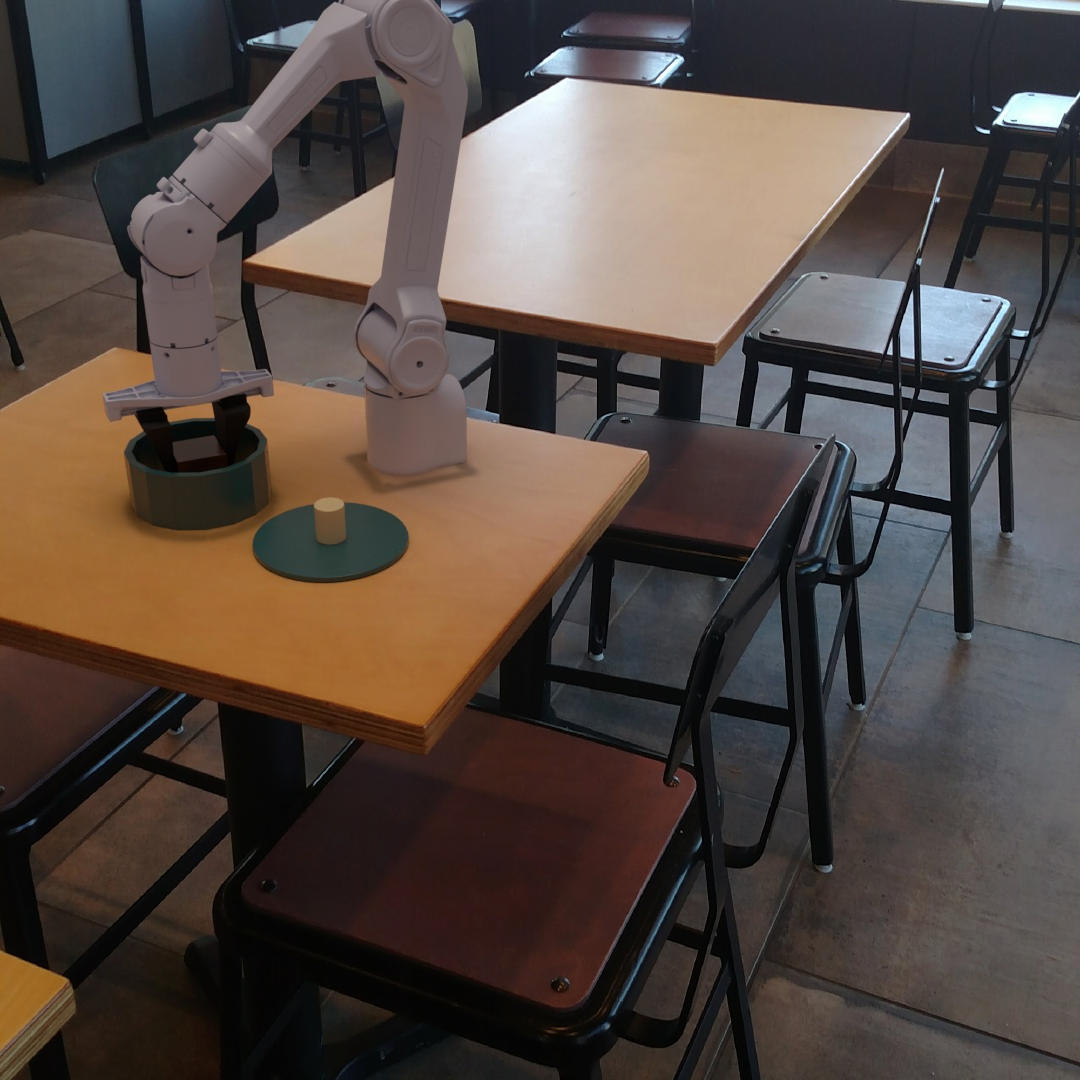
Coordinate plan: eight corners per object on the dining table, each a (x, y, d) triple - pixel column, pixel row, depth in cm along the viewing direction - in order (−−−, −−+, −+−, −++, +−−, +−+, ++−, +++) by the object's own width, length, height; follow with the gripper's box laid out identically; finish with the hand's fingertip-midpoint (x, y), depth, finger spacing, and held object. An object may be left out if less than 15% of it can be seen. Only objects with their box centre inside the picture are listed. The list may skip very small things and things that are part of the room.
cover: (376, 501, 117) (374, 459, 115) (432, 567, 107) (431, 522, 105) (235, 530, 112) (230, 486, 109) (280, 602, 101) (275, 556, 99)
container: (250, 464, 123) (244, 409, 120) (288, 518, 114) (283, 460, 111) (121, 487, 118) (112, 430, 115) (149, 547, 109) (141, 486, 106)
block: (218, 477, 118) (214, 434, 116) (231, 497, 115) (226, 453, 112) (171, 486, 116) (166, 443, 114) (182, 506, 113) (177, 462, 111)
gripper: (253, 312, 114) (264, 447, 121) (88, 333, 108) (110, 474, 115) (275, 337, 109) (287, 476, 115) (103, 361, 103) (125, 507, 109)
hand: (200, 477), depth 115 cm, fingers closed on block, 4 cm apart
